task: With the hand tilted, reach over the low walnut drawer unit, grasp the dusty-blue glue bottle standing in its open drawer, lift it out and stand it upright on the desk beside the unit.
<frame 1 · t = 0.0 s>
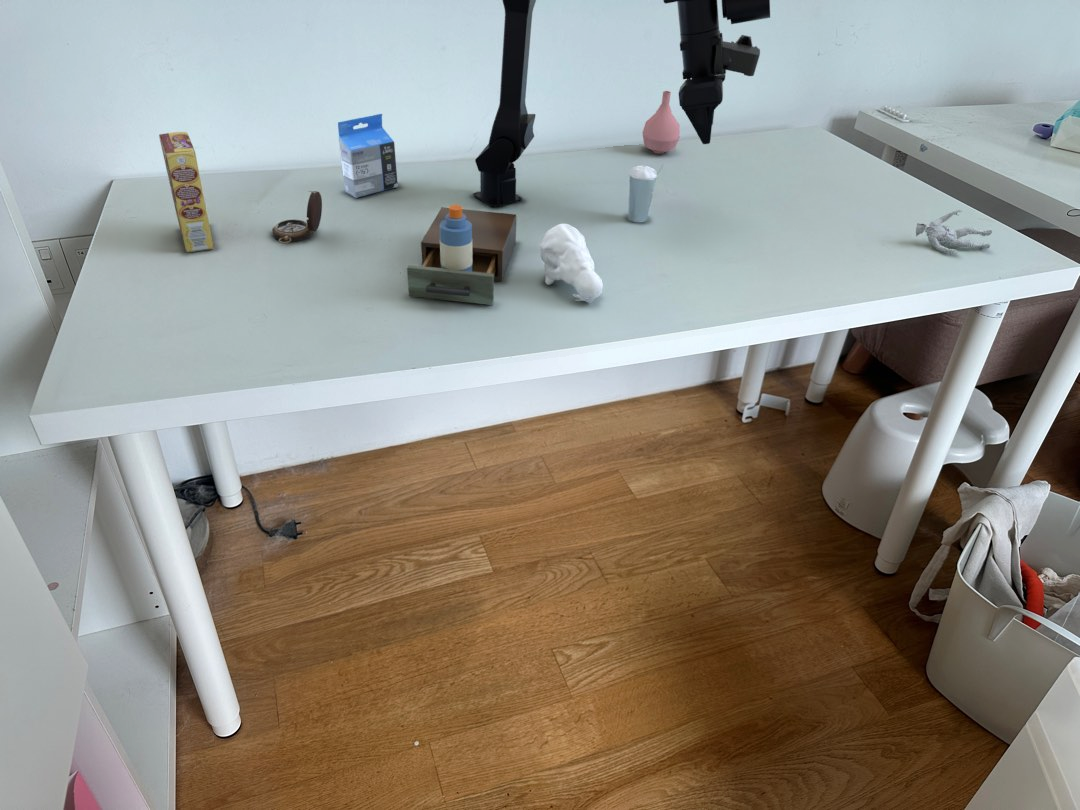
hand: (708, 134, 127), 15 cm above the table, tool pointing down, fingers open, 9 cm apart
glue bottle: (456, 279, 114), point 1 cm above the table, touching drawer
compass: (296, 238, 125), on the table
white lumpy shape: (573, 291, 116), on the table
milkshake: (639, 220, 137), on the table
perfume bottle: (658, 152, 165), on the table
label tape box: (371, 191, 142), on the table
candy box: (198, 240, 123), on the table
drawer unit: (470, 257, 122), on the table
drawer: (458, 267, 114), point 3 cm above the table, slide at 6.6 cm, touching glue bottle
soldier figure: (949, 247, 134), on the table
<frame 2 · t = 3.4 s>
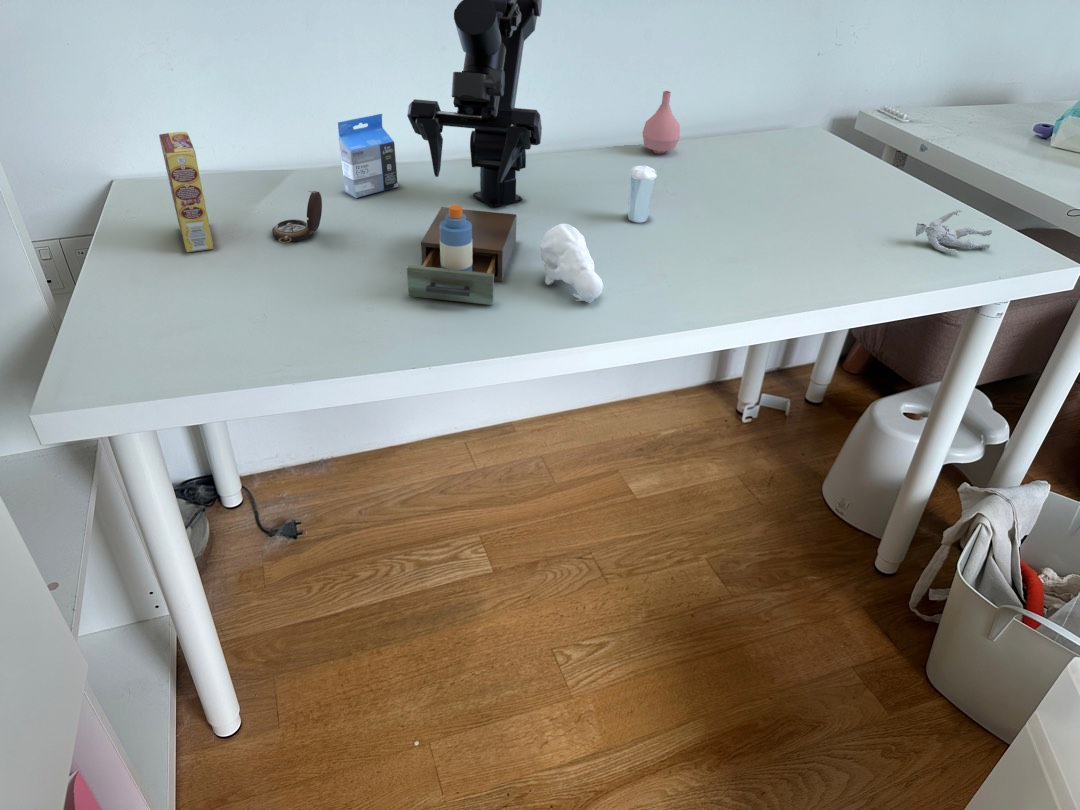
hand: (467, 178, 113), 13 cm above the table, tool tilted 45°, fingers open, 9 cm apart
nothing on the table moved.
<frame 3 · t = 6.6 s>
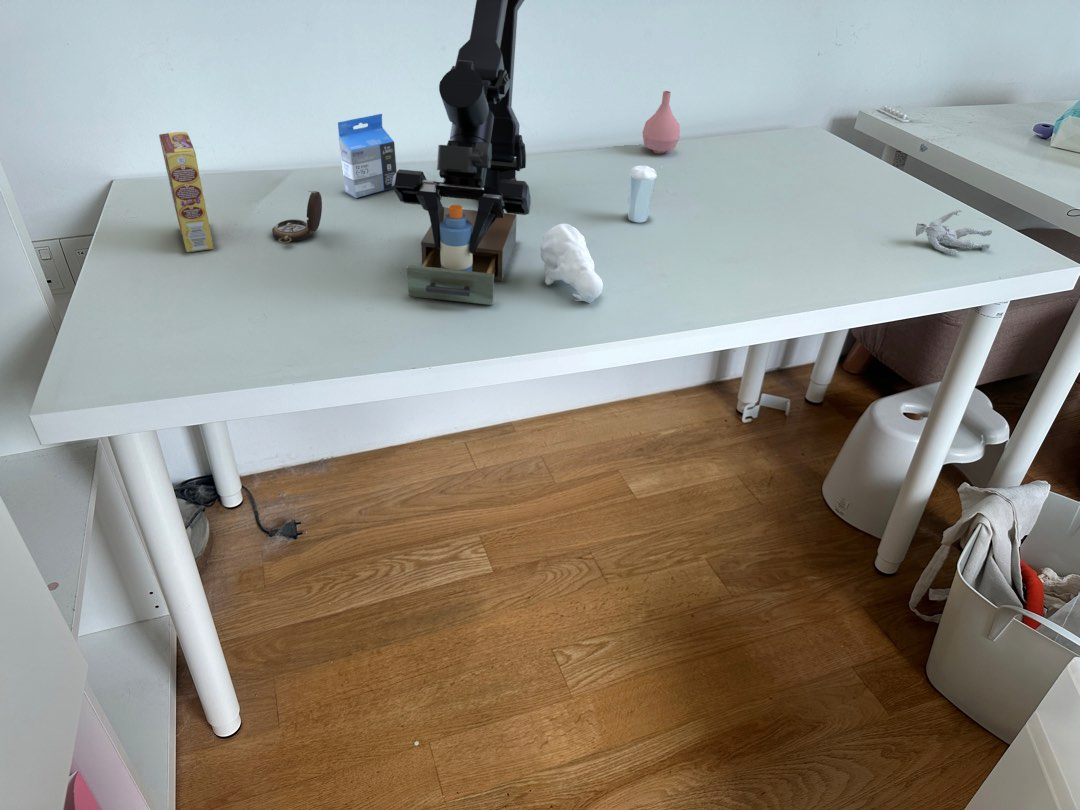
hand: (454, 250, 109), 7 cm above the table, tool tilted 45°, fingers closed on glue bottle, 4 cm apart
glue bottle: (456, 279, 114), point 1 cm above the table, touching drawer, gripper
everything else where it was.
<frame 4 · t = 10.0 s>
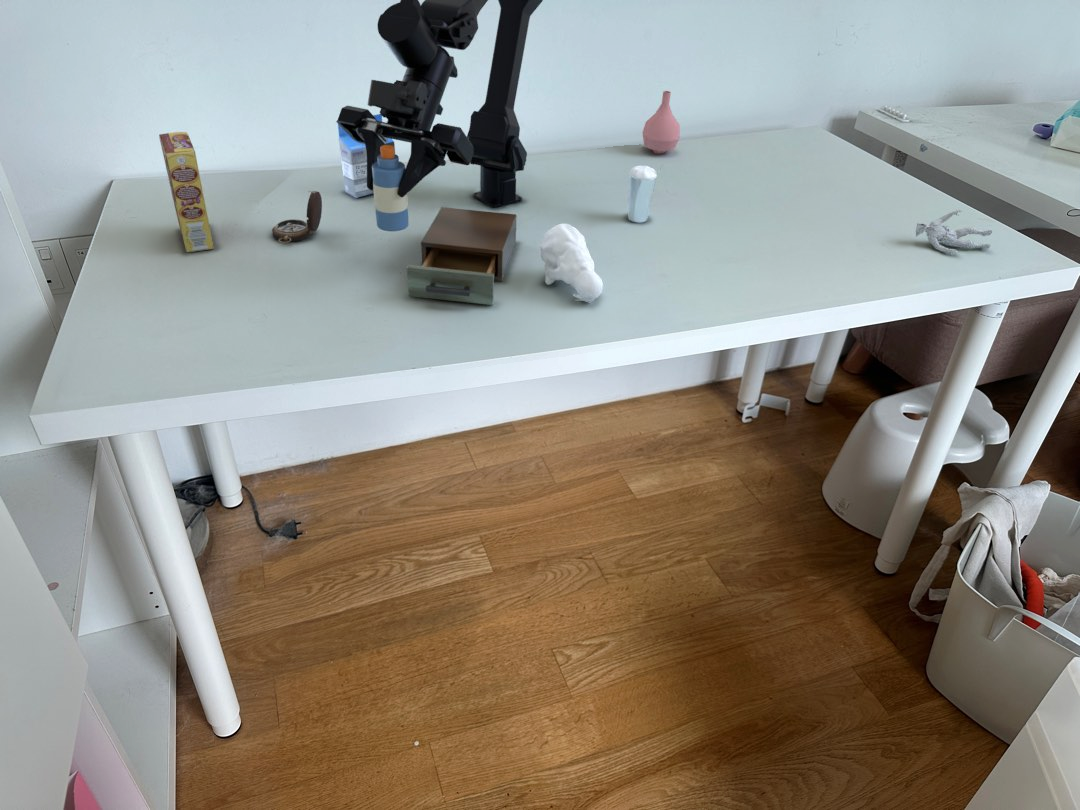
hand: (384, 192, 107), 13 cm above the table, tool tilted 45°, fingers closed on glue bottle, 4 cm apart
glue bottle: (392, 224, 111), point 8 cm above the table, touching gripper
drawer: (458, 267, 114), point 3 cm above the table, slide at 6.6 cm
everything else where it was.
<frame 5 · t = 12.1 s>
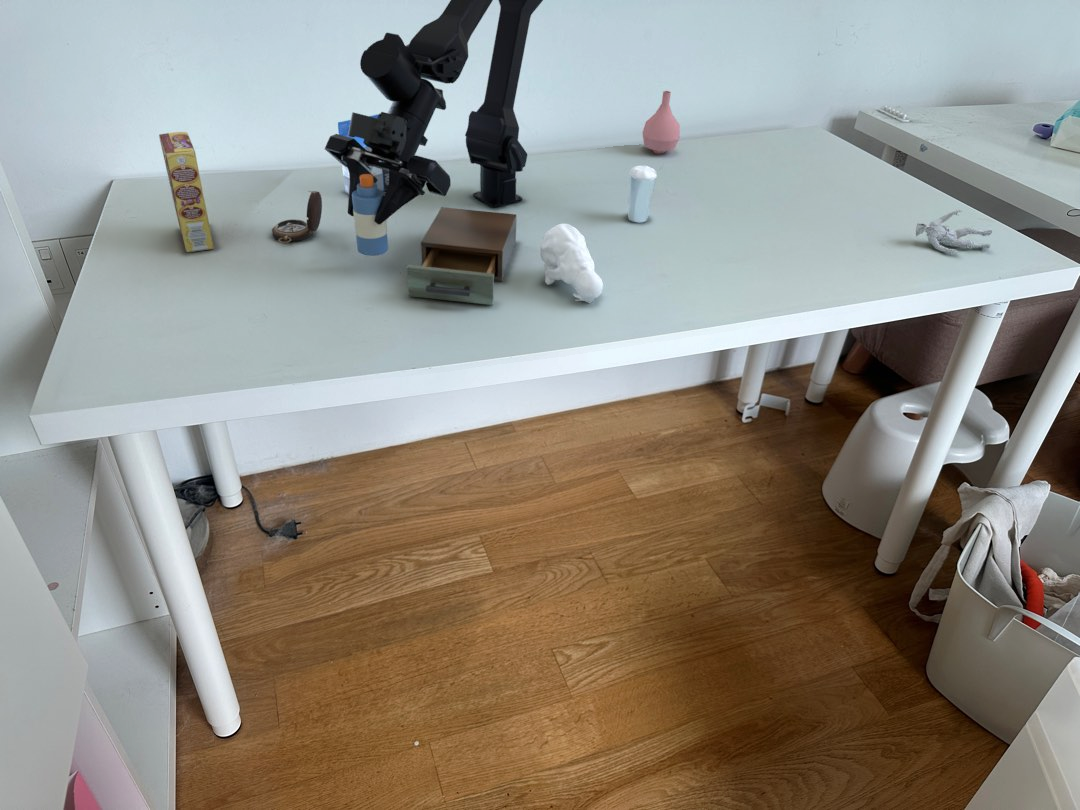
hand: (363, 218, 111), 9 cm above the table, tool tilted 45°, fingers closed on glue bottle, 4 cm apart
glue bottle: (372, 249, 115), point 3 cm above the table, touching gripper
everything else where it was.
when the fingers open (5 cm above the table, at t = 13.5 s): glue bottle stays where it is, on the table.
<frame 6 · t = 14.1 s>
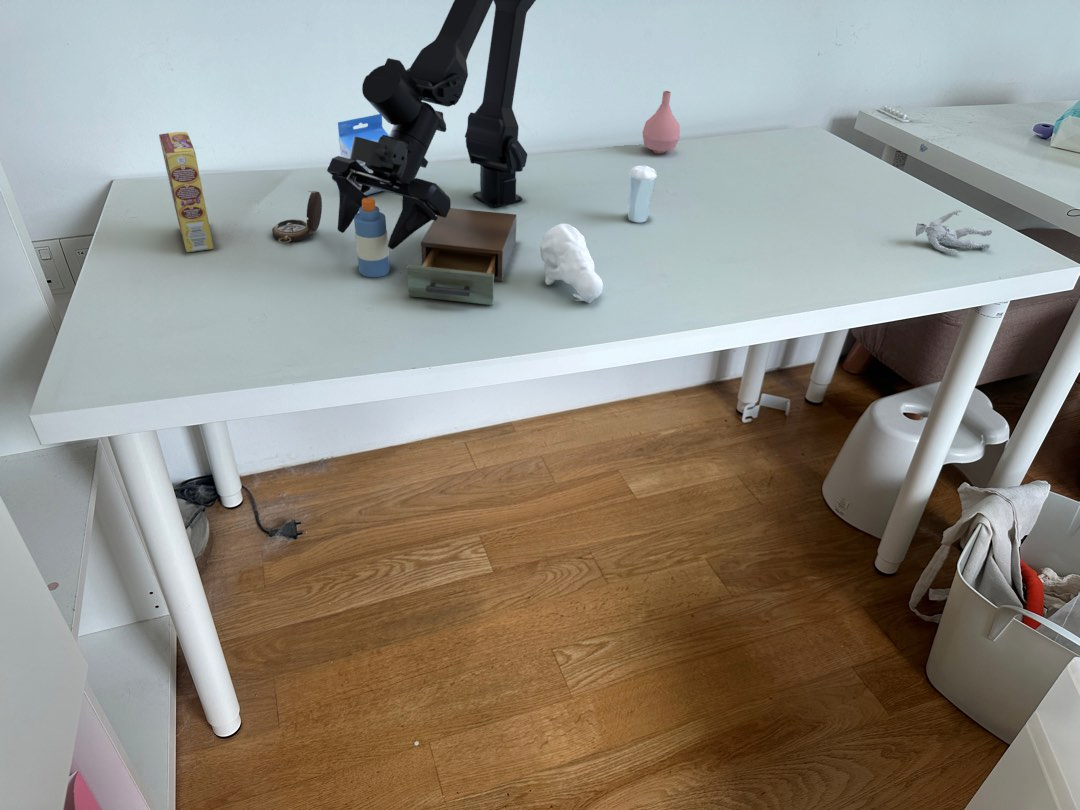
hand: (364, 239, 113), 6 cm above the table, tool tilted 45°, fingers open, 9 cm apart
glue bottle: (374, 270, 117), on the table
everything else where it was.
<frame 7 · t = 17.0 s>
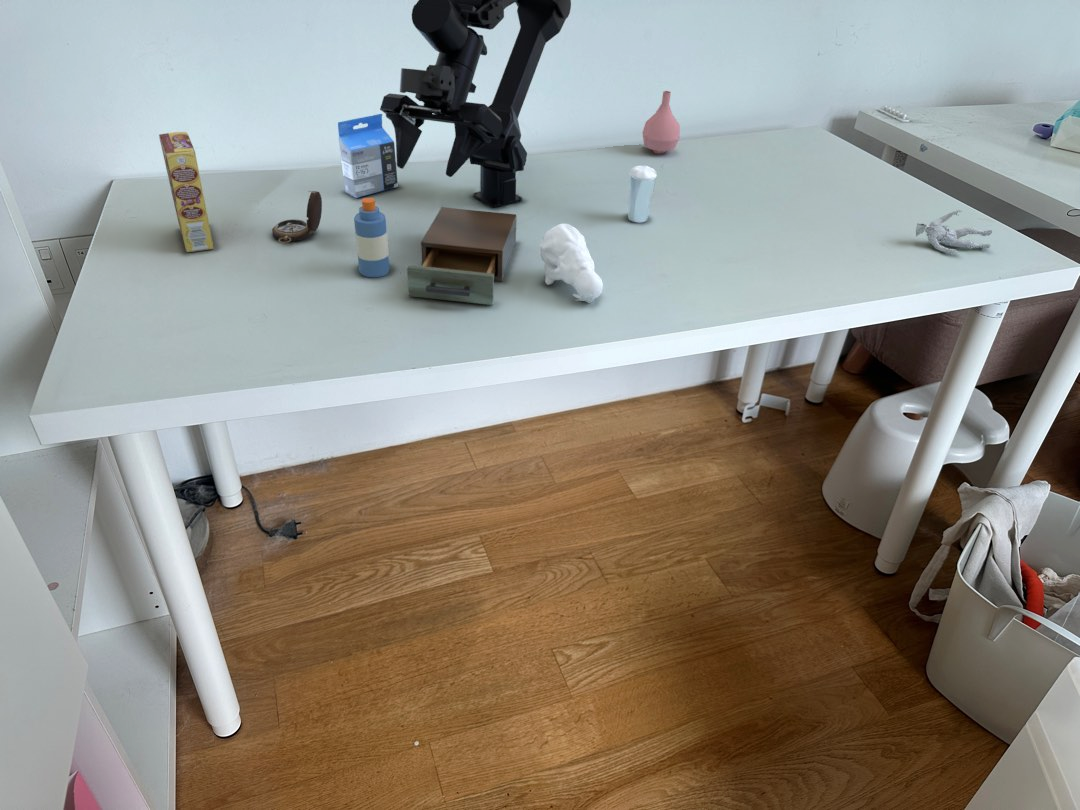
hand: (423, 171, 116), 13 cm above the table, tool tilted 40°, fingers open, 9 cm apart
nothing on the table moved.
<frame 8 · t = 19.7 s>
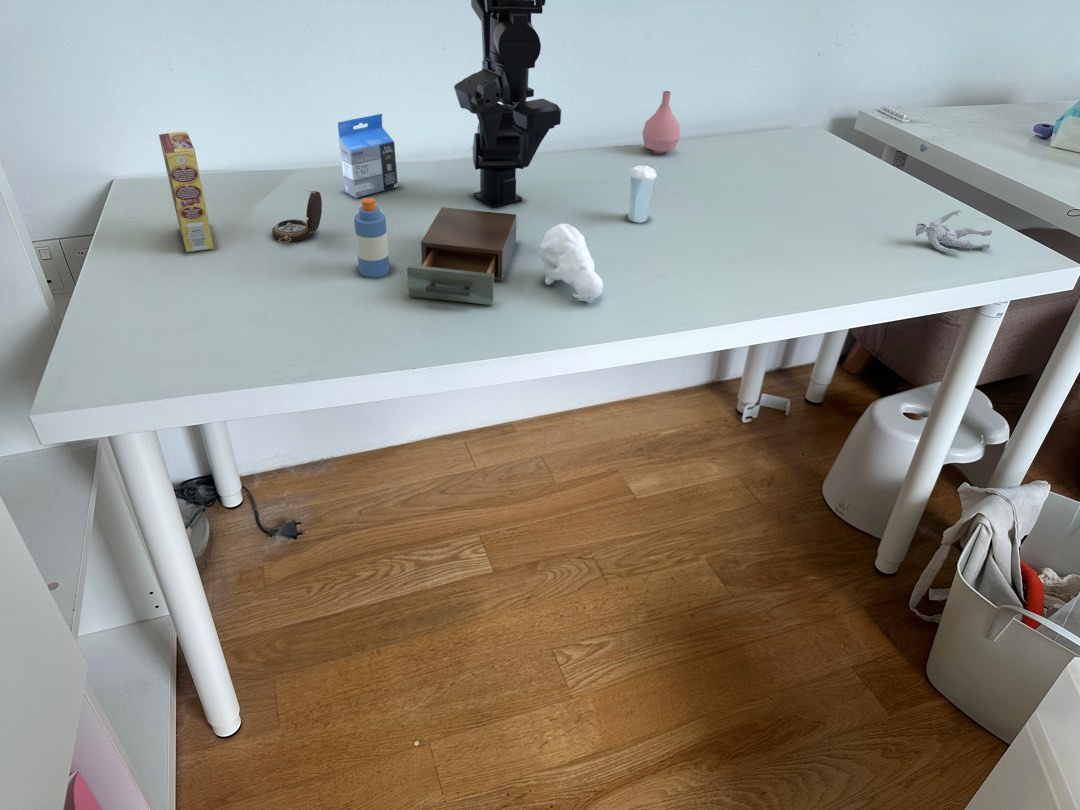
hand: (507, 157, 124), 12 cm above the table, tool pointing down, fingers open, 9 cm apart
nothing on the table moved.
at the end: glue bottle 0.1 cm from the target spot, on the table; glue bottle tilted 0°; the gripper is holding nothing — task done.
